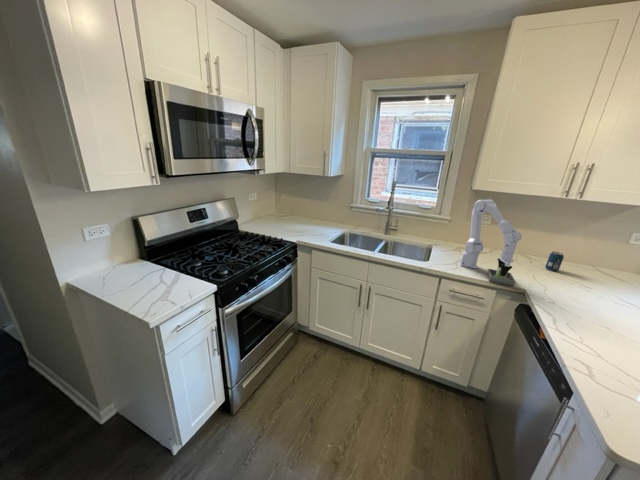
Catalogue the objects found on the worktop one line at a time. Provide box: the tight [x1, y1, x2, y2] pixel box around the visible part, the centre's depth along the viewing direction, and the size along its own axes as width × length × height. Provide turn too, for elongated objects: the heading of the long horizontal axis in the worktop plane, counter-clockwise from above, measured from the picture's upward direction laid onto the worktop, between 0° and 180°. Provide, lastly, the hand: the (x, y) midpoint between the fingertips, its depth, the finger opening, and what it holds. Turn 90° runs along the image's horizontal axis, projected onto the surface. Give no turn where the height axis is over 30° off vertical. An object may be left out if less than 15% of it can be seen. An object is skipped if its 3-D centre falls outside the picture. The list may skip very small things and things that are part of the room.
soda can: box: [545, 251, 564, 273], centre depth 174 cm, size 7×7×12 cm
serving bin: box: [486, 268, 516, 288], centre depth 157 cm, size 12×12×4 cm
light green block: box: [495, 266, 509, 279], centre depth 156 cm, size 5×5×6 cm
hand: (501, 273), depth 156 cm, fingers open, 7 cm apart
